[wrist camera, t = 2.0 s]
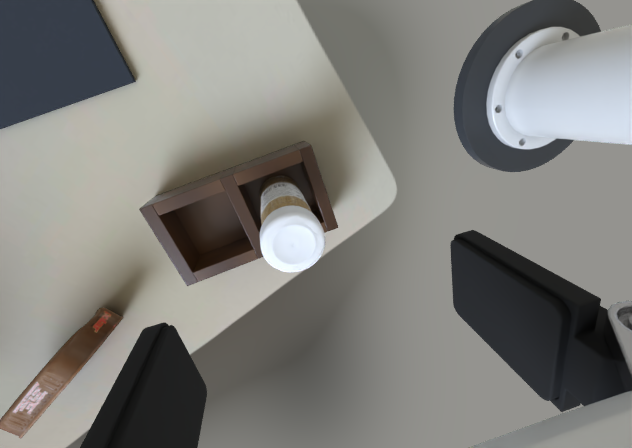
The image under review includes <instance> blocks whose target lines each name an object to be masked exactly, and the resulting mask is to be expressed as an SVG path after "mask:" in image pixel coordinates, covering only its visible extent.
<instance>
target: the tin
mask: <svg viewBox="0 0 632 448" xmlns="http://www.w3.org/2000/svg"><path fill="white" fill-rule="evenodd" d="M122 319H123V316H119V315H117V314H116V313H114V312H112V311H110V310H108V309H106V308H103V307H102V308H99V309H98V310H97V312H96V313H95V315H94V316H93V317H92V319H91V320H90V321H89V322H88V323H87V324H86V325H85V326H83V327H82V328H80V329H79V330H78V331H77V332H76V333H75V334H74V335H73V336H72V337H71V338H70V339H69V340H68V341H67V342H66V343H65V344H64V345H63V346H62V347H61V349H60V350H59V351H58V352H57V353H56V354H55V355H54V356H53V358H52V359H51V360H50V361H49V362H48V363H47V364H46V366H45V367H44V368H43V369H42V370H41V371H40V372H39V374H38V375H37V376H36V377H35V378H34V379H33V381H32V382H31V383H30V384H29V385H28V386H27V388H26V389H25V390H24V391H23V392H22V394H21V395H20V396H19V397H18V398H17V400H16V401H15V402H14V403H13V405H12V406H11V407H10V408H9V410H8V411H7V412H6V413H5V414H4V416H3V417H2V418H1V420H0V429H2V430H5V431H7V432H9V433H12V434H15V435H17V436H19V438H22V437H23V436H24V435H25V433H26V432H27V431H28V430H29V429H30V428H31V427H32V426H33V424H34V423H35V422H36V421H37V420H38V419H39V417H40V416H41V415H42V414H43V413H44V412H45V410H46V409H47V408H48V407H49V406H50V405H51V404H52V402H53V401H54V400H55V399H56V398H57V397H58V395H59V394H60V393H61V392H62V391H63V390H64V389H65V387H66V386H67V385H68V384H69V383H70V382H71V381H72V379H73V378H74V377H75V376H76V375H77V373H78V372H79V371H80V370H81V369H82V368H83V366H84V365H85V364H86V363H87V362H88V360H89V359H90V358H91V357H92V356H93V354H94V353H95V352H96V351H97V350H98V348H99V347H100V346H101V345H102V344H103V342H104V341H105V340H106V339H107V337H108V336H109V335H110V334H111V332H112V331H113V330H114V329H115V327H116V326H117V325H118V324H119V322H120V321H121V320H122Z"/></svg>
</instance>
